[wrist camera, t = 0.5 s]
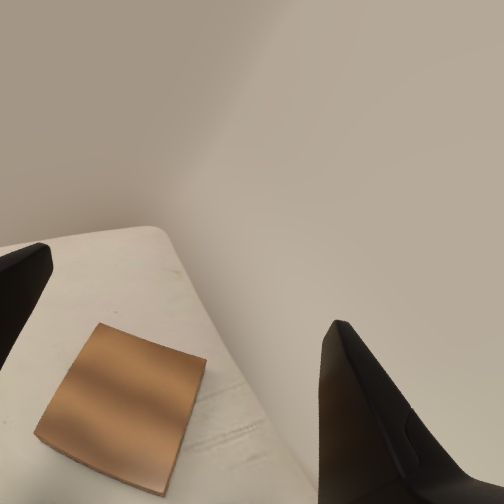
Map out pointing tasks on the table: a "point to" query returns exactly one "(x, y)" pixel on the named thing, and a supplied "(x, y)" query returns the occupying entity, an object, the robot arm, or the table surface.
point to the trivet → (124, 408)
